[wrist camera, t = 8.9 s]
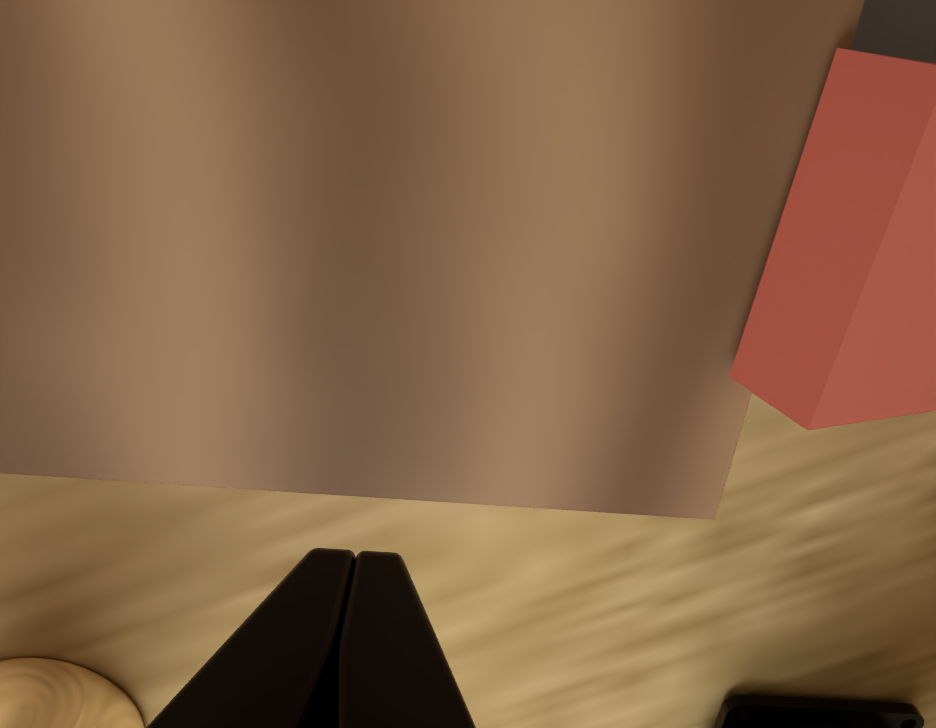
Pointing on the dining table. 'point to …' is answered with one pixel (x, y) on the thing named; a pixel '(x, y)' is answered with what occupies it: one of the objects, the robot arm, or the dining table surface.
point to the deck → (395, 241)
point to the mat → (898, 29)
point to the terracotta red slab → (853, 256)
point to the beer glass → (61, 697)
